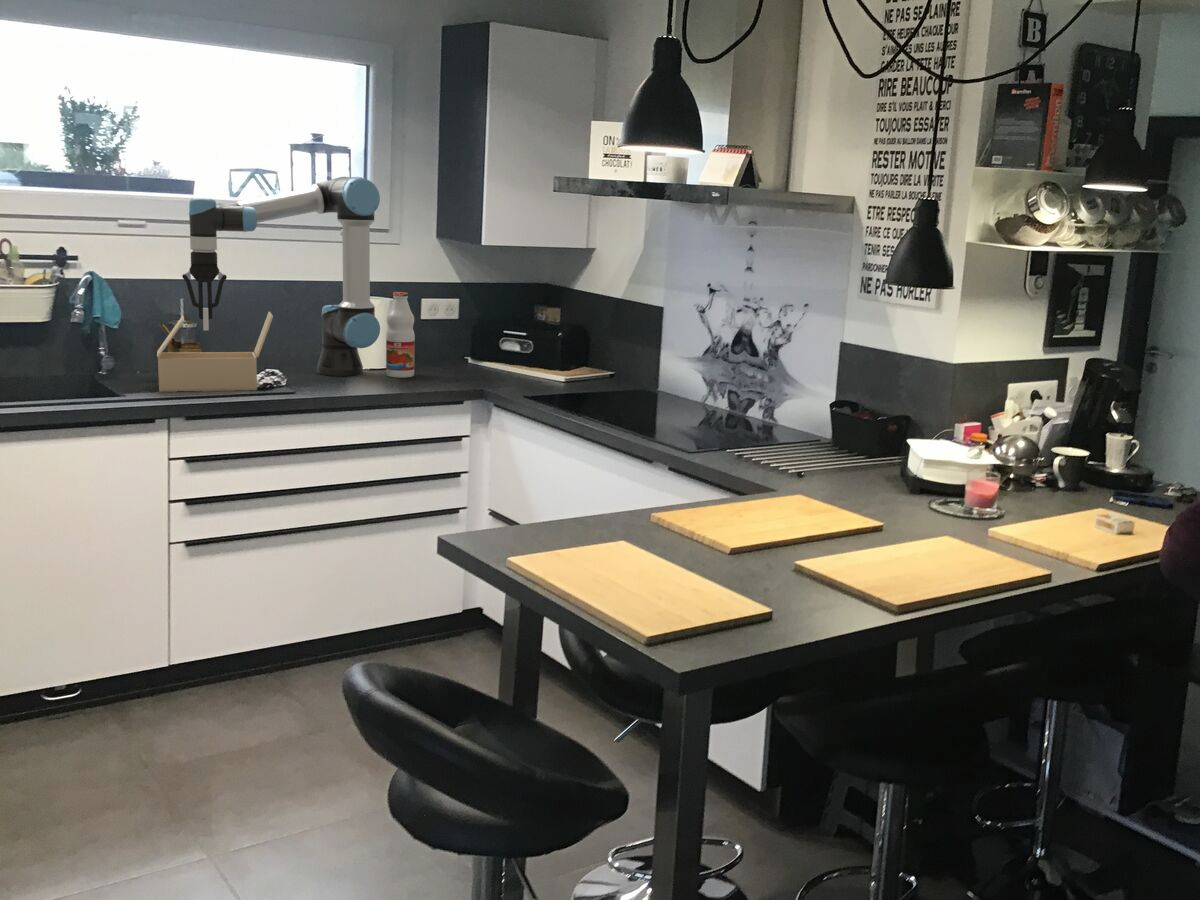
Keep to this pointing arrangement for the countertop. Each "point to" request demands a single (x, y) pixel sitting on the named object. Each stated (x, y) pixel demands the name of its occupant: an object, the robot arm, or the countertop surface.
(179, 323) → the flap
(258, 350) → the flap
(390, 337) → the fruit juice
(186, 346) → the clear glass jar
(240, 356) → the carton
